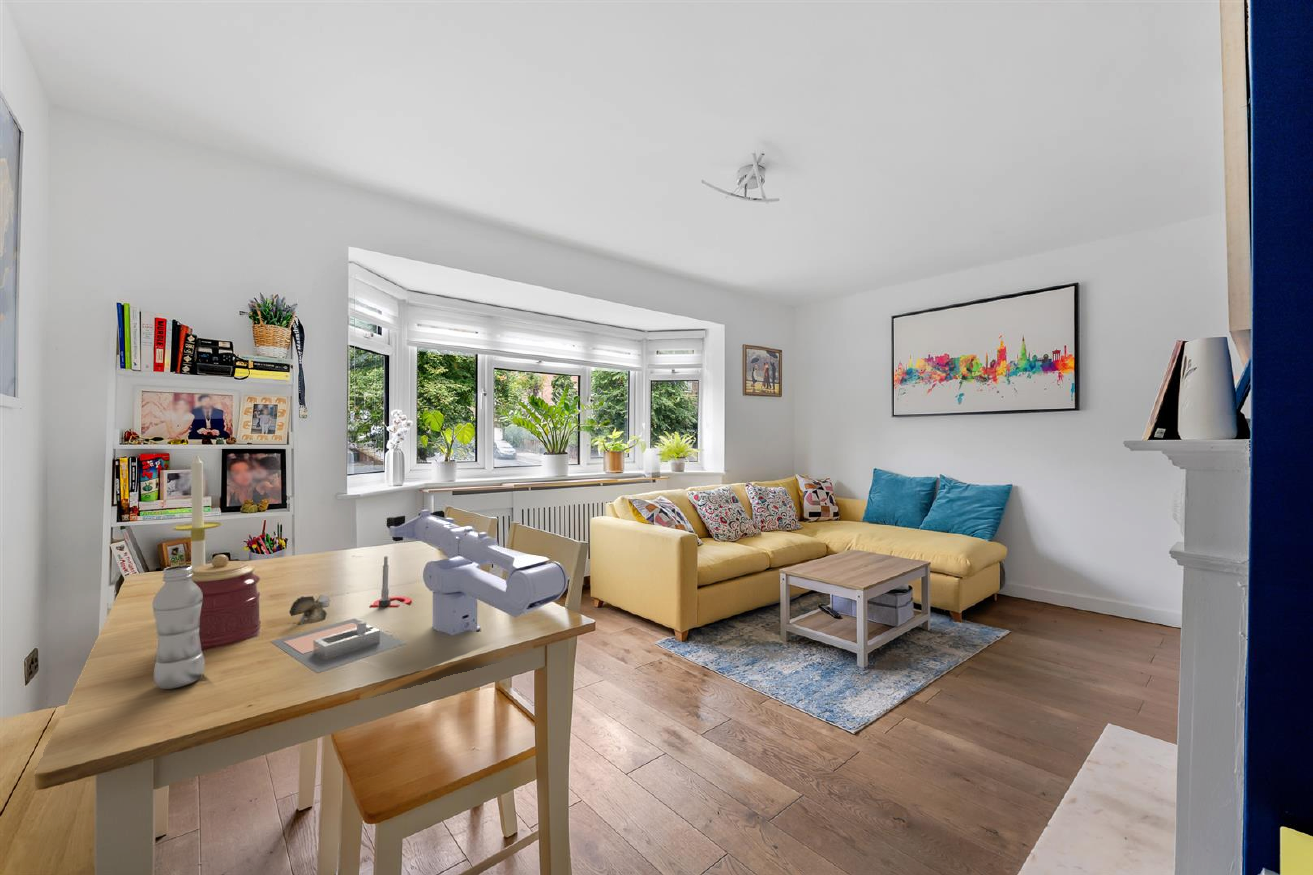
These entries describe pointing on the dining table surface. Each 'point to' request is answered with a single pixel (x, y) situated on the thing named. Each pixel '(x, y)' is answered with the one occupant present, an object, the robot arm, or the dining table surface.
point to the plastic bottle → (178, 629)
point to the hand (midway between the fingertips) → (404, 519)
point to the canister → (227, 602)
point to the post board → (303, 642)
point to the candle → (197, 516)
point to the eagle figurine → (310, 608)
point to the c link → (345, 642)
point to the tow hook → (386, 600)
